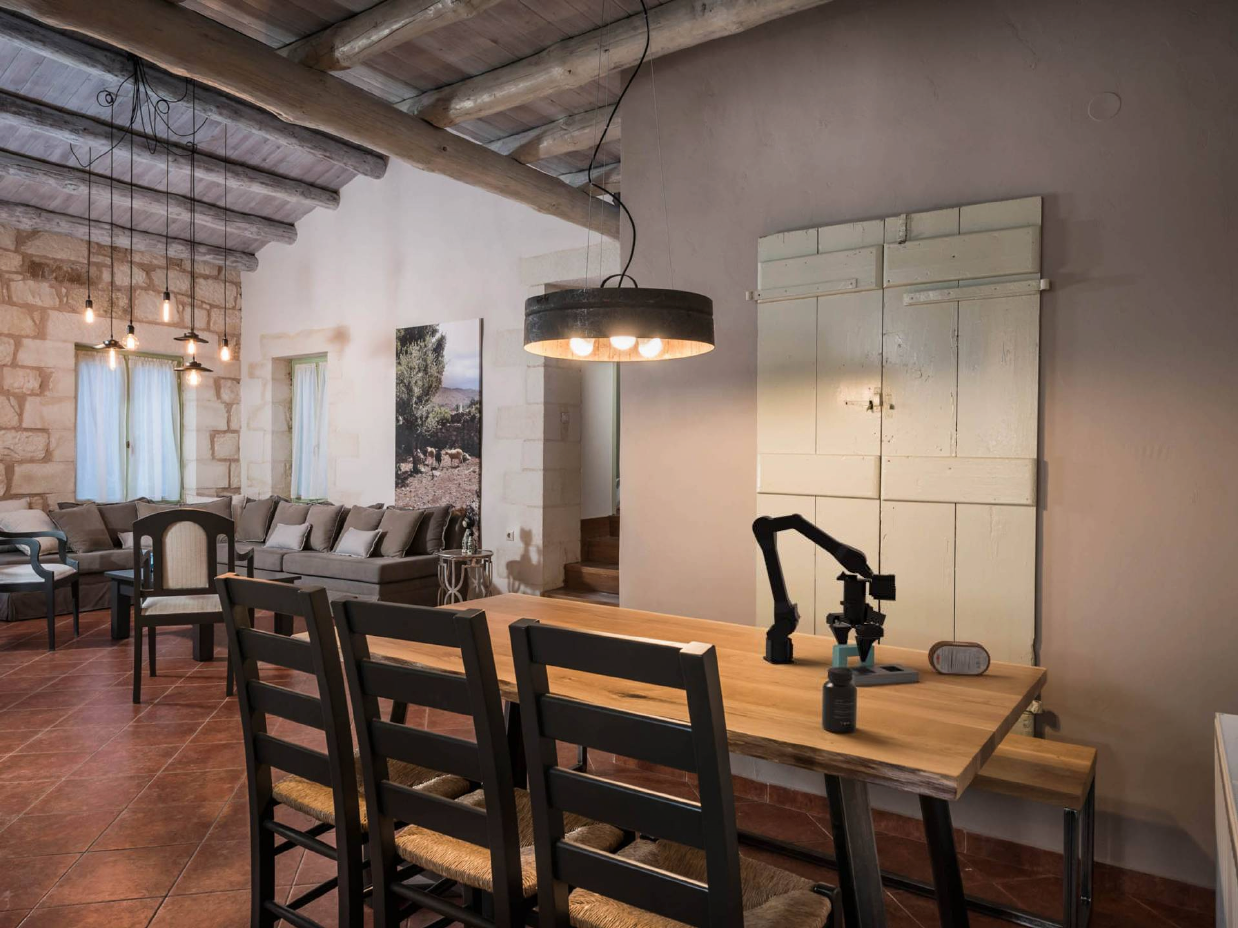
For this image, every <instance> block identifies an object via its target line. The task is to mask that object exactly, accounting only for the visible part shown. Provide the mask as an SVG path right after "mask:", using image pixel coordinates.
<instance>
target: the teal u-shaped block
mask: <svg viewBox="0 0 1238 928" xmlns="http://www.w3.org/2000/svg"><path fill="white" fill-rule="evenodd" d="M854 657H859V659H858V661H859V662H858V666H871V665H875V645H873V644H872V646H871V649H870V651H869V654H868V656H867V659H866V662H861V660H860V656H859V652H858V648H857V644H856V643H851V644H849V643H847V644H846V645H838V644H833V645H832V667H848V658H854ZM832 667H831V668H832Z"/></svg>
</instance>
